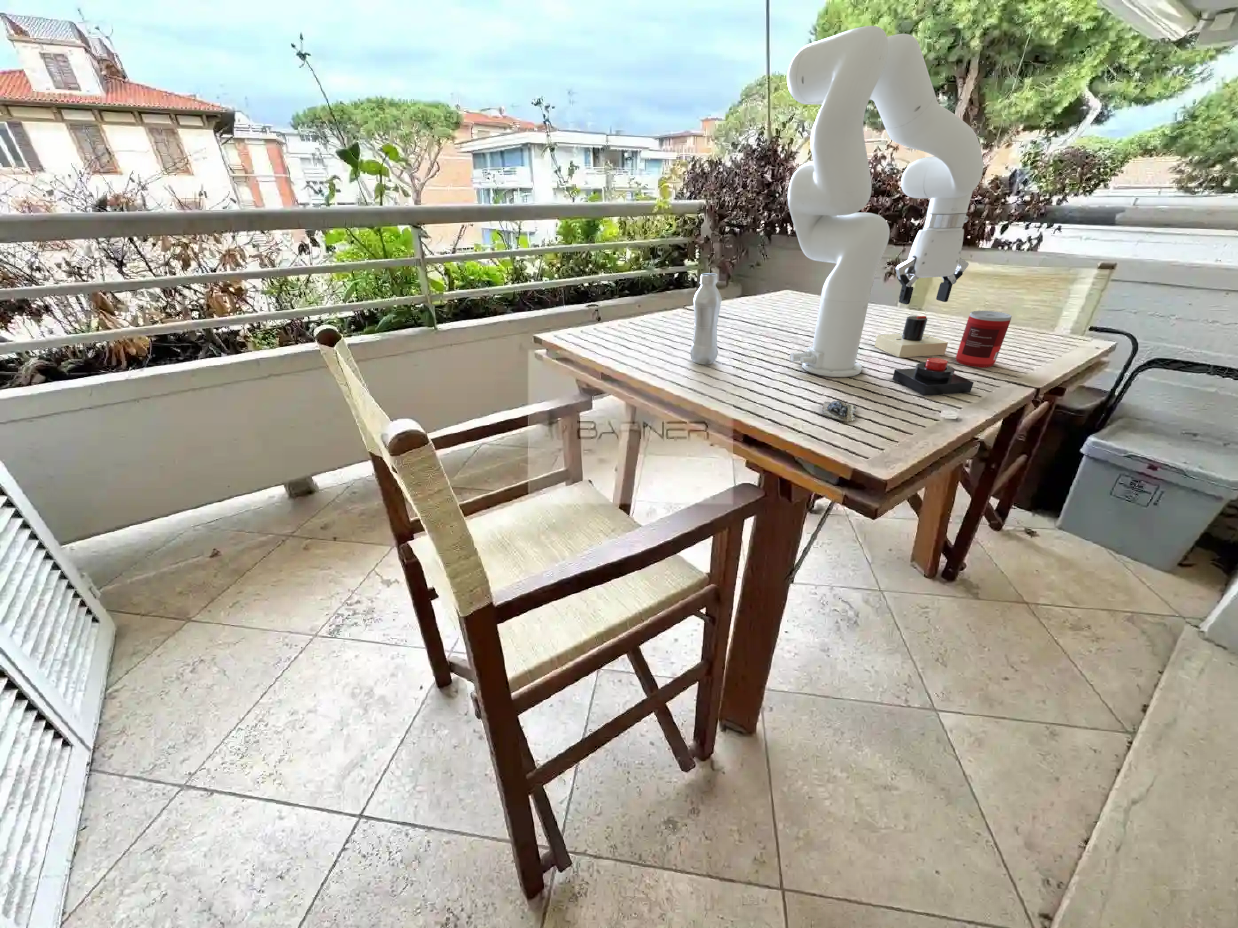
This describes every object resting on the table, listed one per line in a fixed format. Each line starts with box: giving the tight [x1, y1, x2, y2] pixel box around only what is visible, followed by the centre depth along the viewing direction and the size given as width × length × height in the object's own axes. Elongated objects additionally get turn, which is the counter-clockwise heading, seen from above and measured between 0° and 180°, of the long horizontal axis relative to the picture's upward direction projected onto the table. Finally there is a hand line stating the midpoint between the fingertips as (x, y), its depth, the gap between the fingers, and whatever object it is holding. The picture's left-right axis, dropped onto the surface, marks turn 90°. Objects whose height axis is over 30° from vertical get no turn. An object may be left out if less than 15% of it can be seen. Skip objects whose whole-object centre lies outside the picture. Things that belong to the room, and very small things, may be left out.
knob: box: [901, 315, 928, 341], centre depth 118 cm, size 4×4×5 cm
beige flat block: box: [874, 333, 949, 358], centre depth 120 cm, size 12×10×3 cm
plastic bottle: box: [689, 272, 723, 365], centre depth 111 cm, size 6×7×20 cm
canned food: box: [955, 310, 1013, 369], centre depth 109 cm, size 8×8×11 cm
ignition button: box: [925, 357, 949, 370], centre depth 97 cm, size 4×4×2 cm
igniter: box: [892, 361, 975, 397], centre depth 98 cm, size 10×10×4 cm
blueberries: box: [821, 400, 857, 423], centre depth 87 cm, size 7×8×2 cm
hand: (922, 302), depth 116 cm, fingers open, 9 cm apart
